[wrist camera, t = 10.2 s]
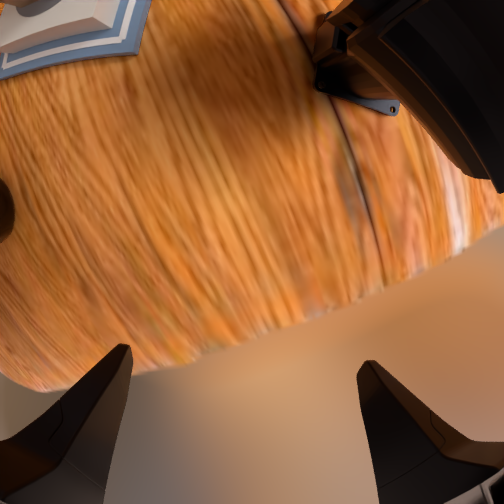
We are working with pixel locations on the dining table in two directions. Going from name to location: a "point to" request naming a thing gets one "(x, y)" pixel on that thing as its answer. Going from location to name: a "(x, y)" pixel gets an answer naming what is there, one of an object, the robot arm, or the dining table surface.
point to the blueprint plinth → (68, 32)
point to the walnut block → (18, 2)
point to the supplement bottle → (6, 212)
